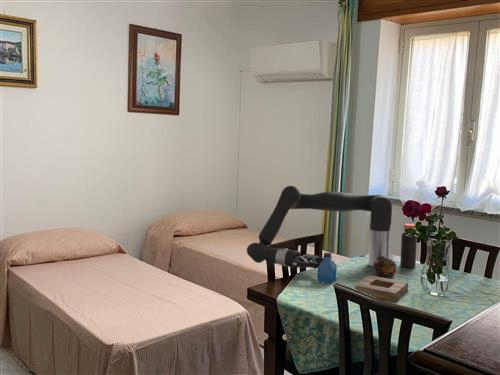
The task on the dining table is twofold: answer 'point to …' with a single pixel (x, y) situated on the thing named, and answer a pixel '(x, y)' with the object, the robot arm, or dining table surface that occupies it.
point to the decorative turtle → (385, 266)
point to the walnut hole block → (383, 288)
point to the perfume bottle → (327, 270)
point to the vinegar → (408, 249)
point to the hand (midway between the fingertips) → (321, 263)
